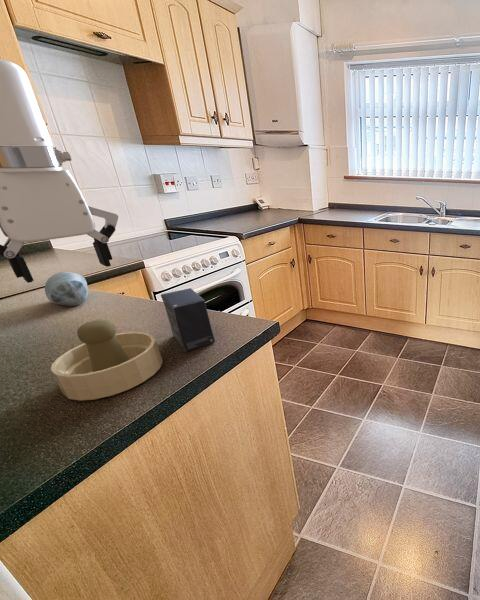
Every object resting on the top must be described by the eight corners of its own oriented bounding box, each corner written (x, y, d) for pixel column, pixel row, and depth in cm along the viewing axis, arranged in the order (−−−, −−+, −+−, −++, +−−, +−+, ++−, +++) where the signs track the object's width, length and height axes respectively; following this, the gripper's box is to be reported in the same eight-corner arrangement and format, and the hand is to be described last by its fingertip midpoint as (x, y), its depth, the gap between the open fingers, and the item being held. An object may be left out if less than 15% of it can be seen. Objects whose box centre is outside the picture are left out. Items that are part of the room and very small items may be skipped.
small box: (217, 342, 75) (206, 299, 71) (185, 353, 71) (170, 308, 67) (202, 326, 82) (191, 286, 78) (172, 335, 78) (158, 294, 74)
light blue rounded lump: (98, 292, 94) (63, 264, 89) (63, 315, 90) (25, 288, 86) (102, 289, 105) (71, 264, 100) (71, 310, 101) (37, 285, 96)
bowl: (48, 412, 55) (33, 385, 53) (82, 365, 67) (71, 341, 65) (155, 388, 61) (145, 362, 58) (168, 348, 73) (160, 326, 71)
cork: (128, 361, 68) (108, 312, 63) (140, 371, 64) (120, 320, 60) (90, 376, 63) (66, 324, 59) (101, 388, 60) (76, 334, 56)
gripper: (91, 159, 57) (123, 256, 64) (-76, 160, 44) (-13, 282, 51) (106, 160, 53) (139, 263, 60) (-72, 162, 40) (-4, 293, 47)
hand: (69, 272), depth 56 cm, fingers open, 9 cm apart
